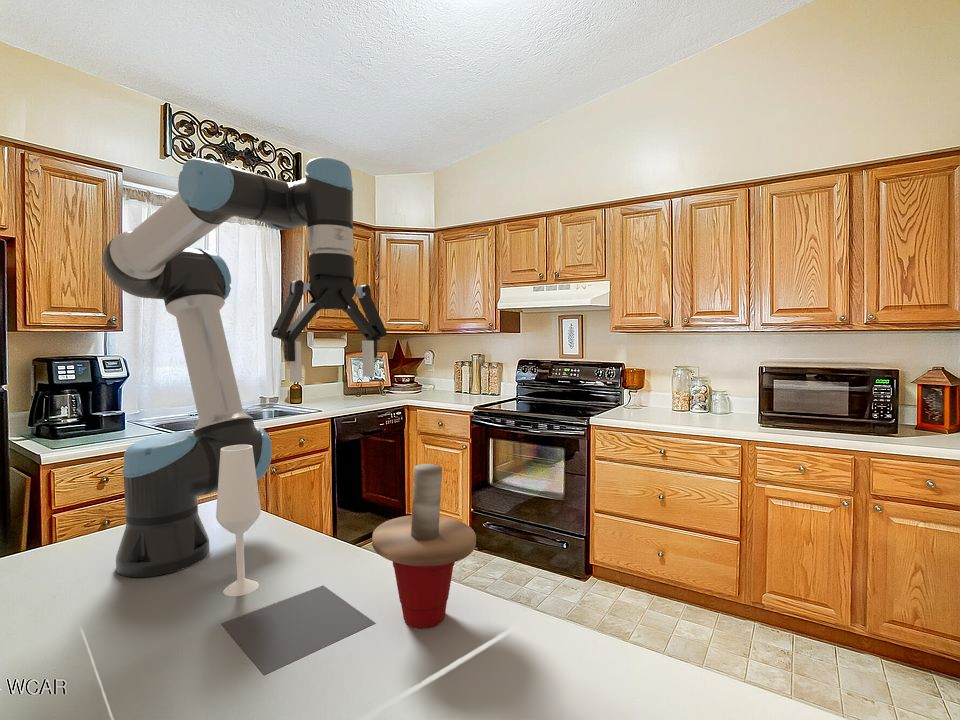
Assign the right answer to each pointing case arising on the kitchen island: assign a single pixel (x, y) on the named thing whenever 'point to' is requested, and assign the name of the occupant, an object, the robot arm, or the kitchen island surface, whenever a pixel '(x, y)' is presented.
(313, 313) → the robot arm
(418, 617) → the plastic cup
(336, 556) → the kitchen island surface
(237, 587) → the champagne flute
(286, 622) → the mat
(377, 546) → the lid
